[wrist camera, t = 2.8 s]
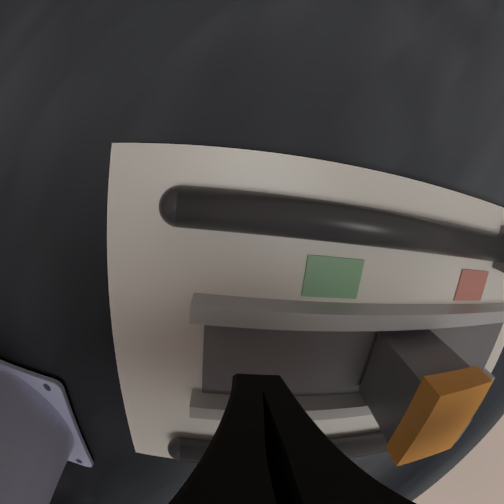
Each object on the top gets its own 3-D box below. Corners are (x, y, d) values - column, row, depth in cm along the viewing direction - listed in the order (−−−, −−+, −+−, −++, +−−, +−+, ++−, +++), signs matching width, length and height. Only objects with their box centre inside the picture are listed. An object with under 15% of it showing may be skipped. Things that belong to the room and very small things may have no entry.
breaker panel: (141, 432, 13) (129, 475, 10) (127, 146, 9) (89, 138, 6) (449, 415, 15) (470, 442, 12) (521, 217, 11) (559, 227, 8)
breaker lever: (357, 392, 11) (396, 466, 7) (379, 326, 10) (440, 396, 6) (406, 386, 11) (450, 448, 7) (430, 324, 10) (493, 380, 6)
